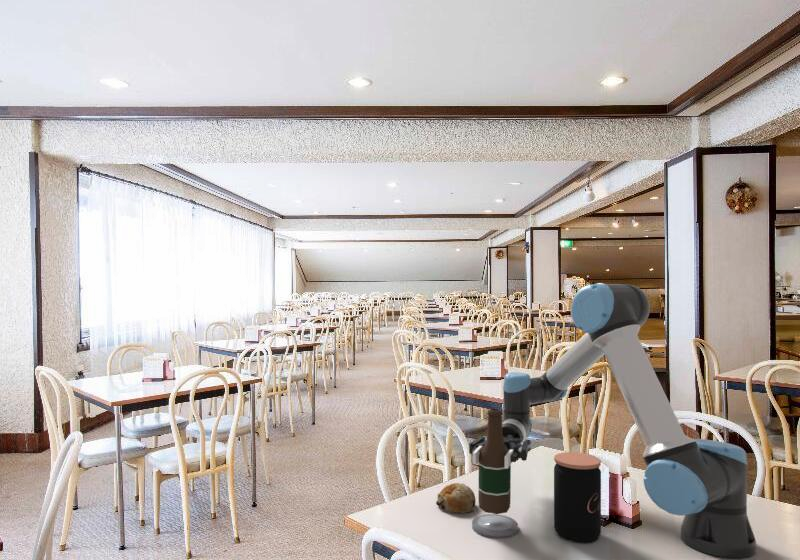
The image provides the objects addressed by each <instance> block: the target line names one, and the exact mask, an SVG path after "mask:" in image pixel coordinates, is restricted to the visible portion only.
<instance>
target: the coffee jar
mask: <svg viewBox="0 0 800 560" xmlns="http://www.w3.org/2000/svg"><path fill="white" fill-rule="evenodd" d="M553 459H554V460H553V461H554V462H555V464H554V467H553V527H554V531H555V532H556V533H557V536H559V538H561V539H563V540H565V541H567V542H571V543H576V544H577V543H578V544H591V543H594V542H596V541H597V540H598V539H599V538H600V536H601V533H602V472H601V471H602V470H601V469H600V467H601V464H602V463H601V462H602V460H601V458H599V457H597V456H596V455H592V454H589V453H584V452H575V451H572V452H571V451H568V452H560V453H557V454H555V455H554V457H553Z"/></svg>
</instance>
